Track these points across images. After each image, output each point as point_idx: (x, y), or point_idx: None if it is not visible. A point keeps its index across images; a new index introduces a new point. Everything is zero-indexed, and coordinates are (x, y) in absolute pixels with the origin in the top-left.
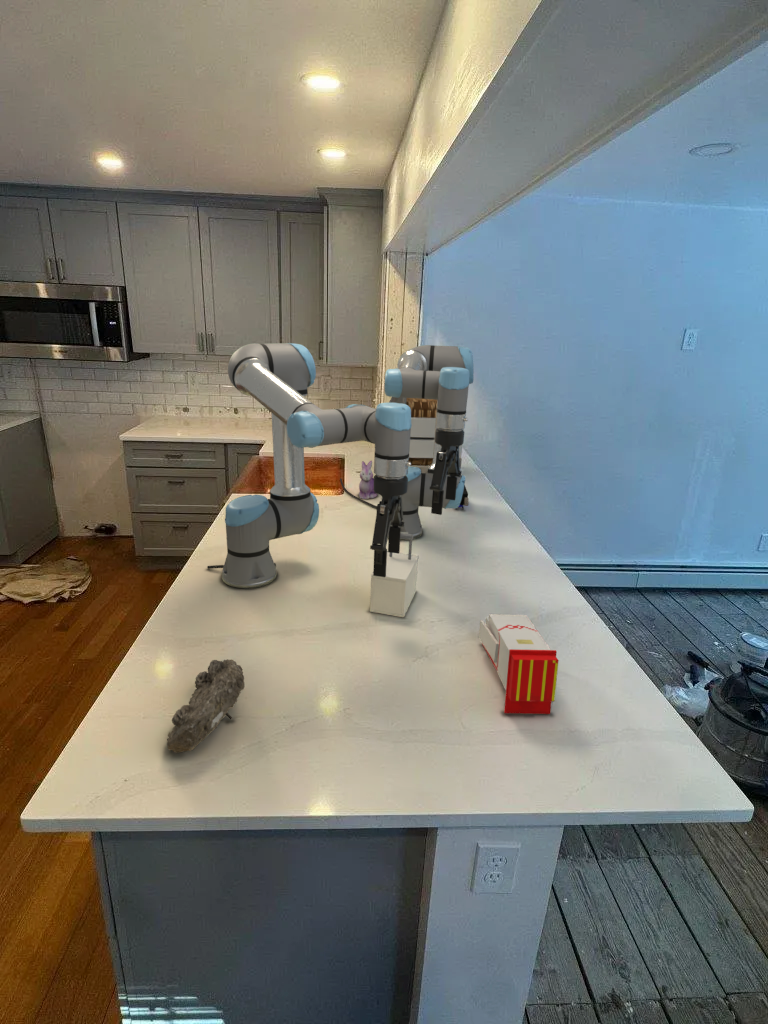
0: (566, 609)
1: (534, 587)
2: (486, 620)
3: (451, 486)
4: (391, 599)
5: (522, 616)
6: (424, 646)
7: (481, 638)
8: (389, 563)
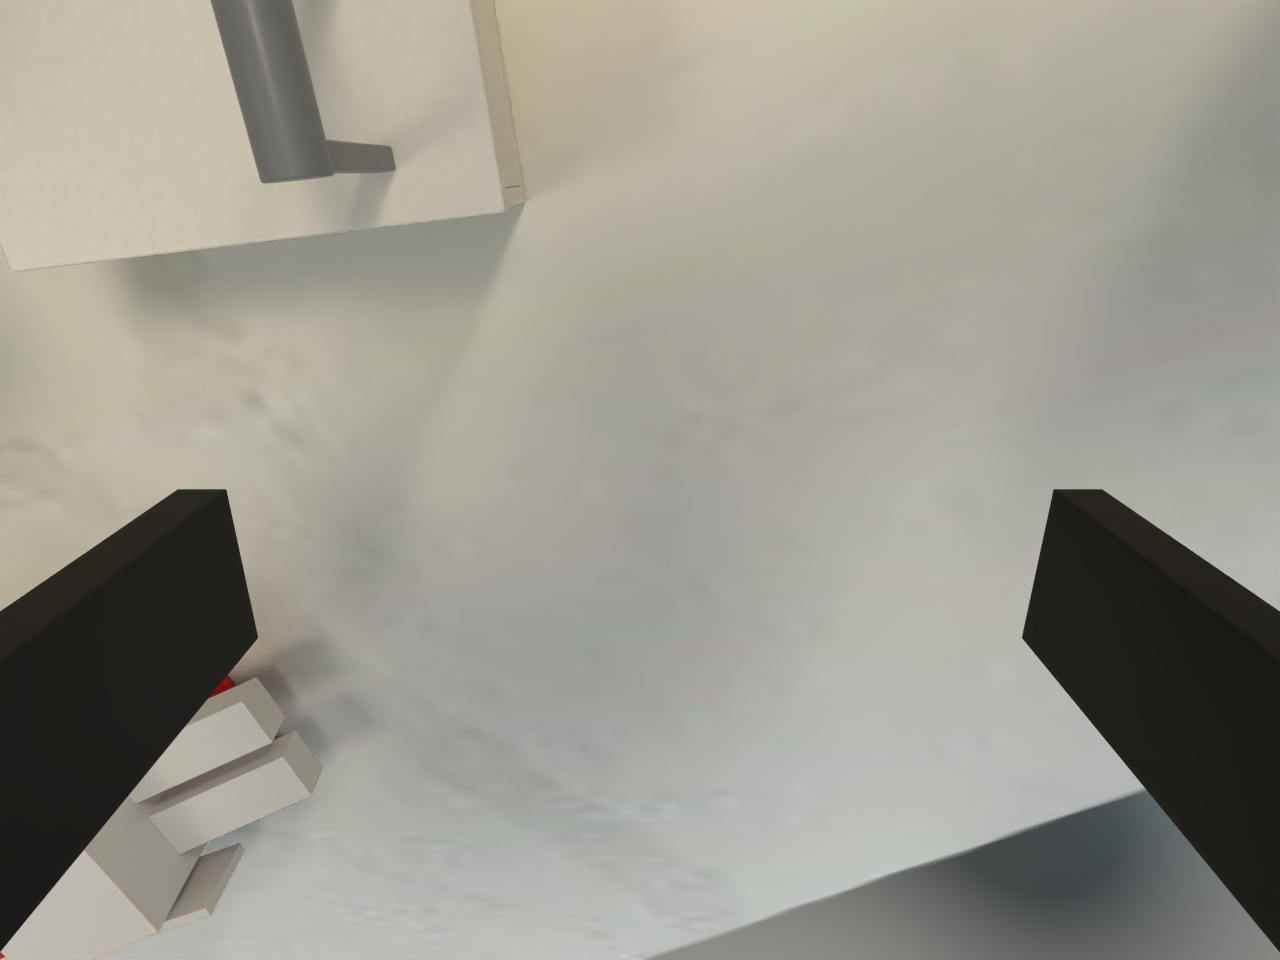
0: (697, 880)
1: (864, 757)
2: (234, 699)
3: (1193, 735)
4: None
5: (125, 924)
6: (24, 433)
7: None
8: (186, 8)
